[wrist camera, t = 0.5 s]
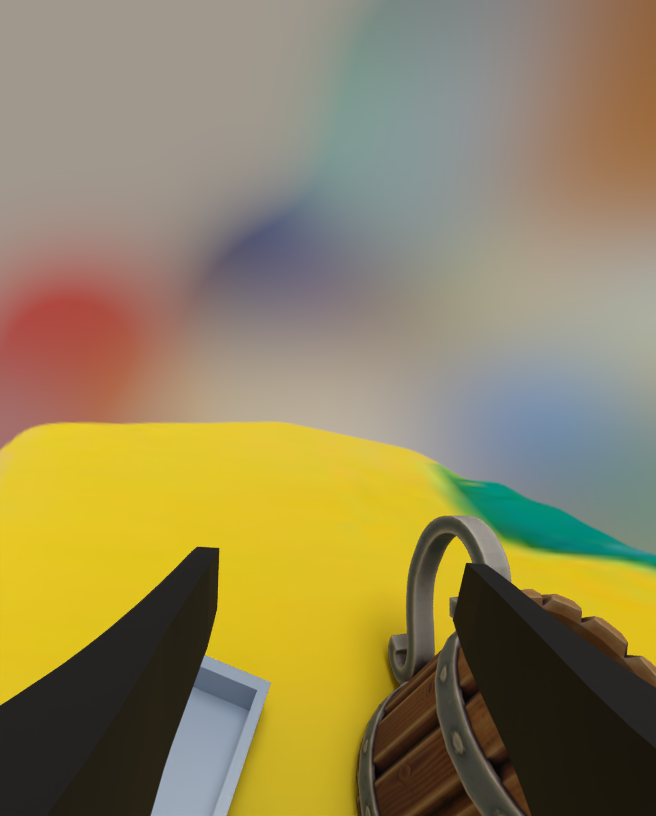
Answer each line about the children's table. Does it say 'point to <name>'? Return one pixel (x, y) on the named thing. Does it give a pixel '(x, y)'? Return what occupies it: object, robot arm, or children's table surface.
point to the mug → (453, 699)
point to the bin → (211, 742)
